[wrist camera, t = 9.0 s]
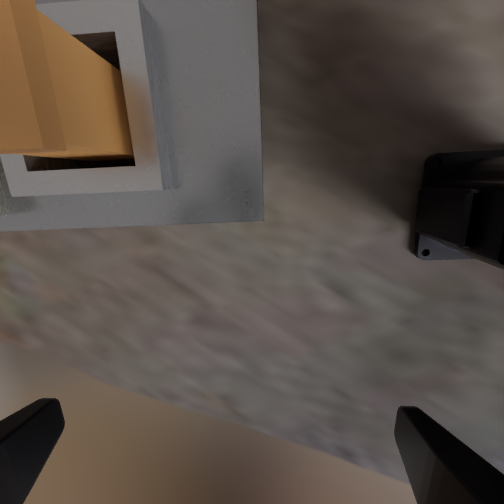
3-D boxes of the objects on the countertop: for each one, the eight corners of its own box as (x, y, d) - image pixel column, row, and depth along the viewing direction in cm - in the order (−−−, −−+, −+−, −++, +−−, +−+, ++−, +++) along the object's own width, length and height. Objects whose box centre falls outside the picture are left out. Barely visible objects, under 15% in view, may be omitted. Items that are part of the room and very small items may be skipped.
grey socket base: (256, -10, 14) (252, -90, 10) (264, 215, 17) (263, 227, 13) (-58, 18, 15) (-185, -46, 11) (3, 225, 18) (-76, 240, 14)
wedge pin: (145, 80, 16) (0, -38, 7) (156, 163, 17) (43, 148, 8) (70, 85, 16) (-159, -24, 7) (86, 166, 17) (-95, 154, 9)
